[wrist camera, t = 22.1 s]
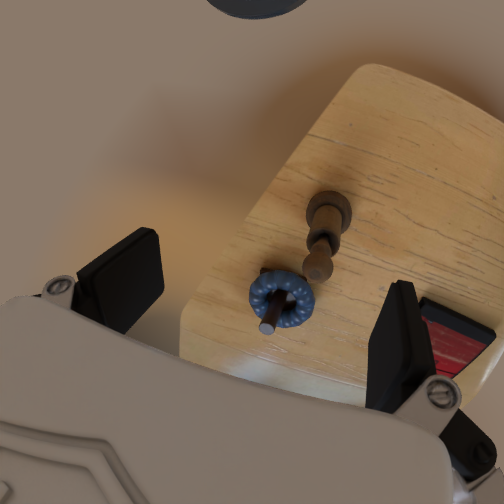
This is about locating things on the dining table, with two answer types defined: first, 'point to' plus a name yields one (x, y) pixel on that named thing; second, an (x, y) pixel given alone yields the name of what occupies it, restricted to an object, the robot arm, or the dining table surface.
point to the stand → (276, 306)
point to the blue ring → (290, 284)
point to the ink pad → (453, 337)
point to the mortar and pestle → (325, 233)
